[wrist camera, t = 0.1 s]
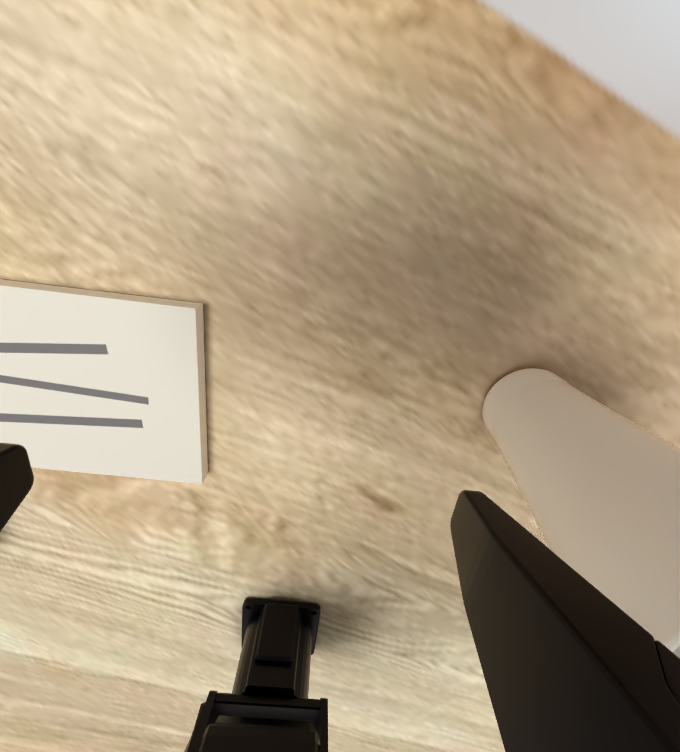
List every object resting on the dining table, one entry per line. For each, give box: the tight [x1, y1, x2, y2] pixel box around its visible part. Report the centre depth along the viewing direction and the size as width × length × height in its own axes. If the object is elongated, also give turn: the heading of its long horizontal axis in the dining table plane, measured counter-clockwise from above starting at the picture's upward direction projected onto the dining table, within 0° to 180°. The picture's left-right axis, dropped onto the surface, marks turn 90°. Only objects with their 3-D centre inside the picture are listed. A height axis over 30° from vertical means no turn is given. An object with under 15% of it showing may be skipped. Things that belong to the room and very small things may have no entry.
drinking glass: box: [482, 368, 680, 658], centre depth 17 cm, size 7×7×15 cm
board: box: [0, 279, 208, 484], centre depth 22 cm, size 12×20×1 cm, turn 83°
